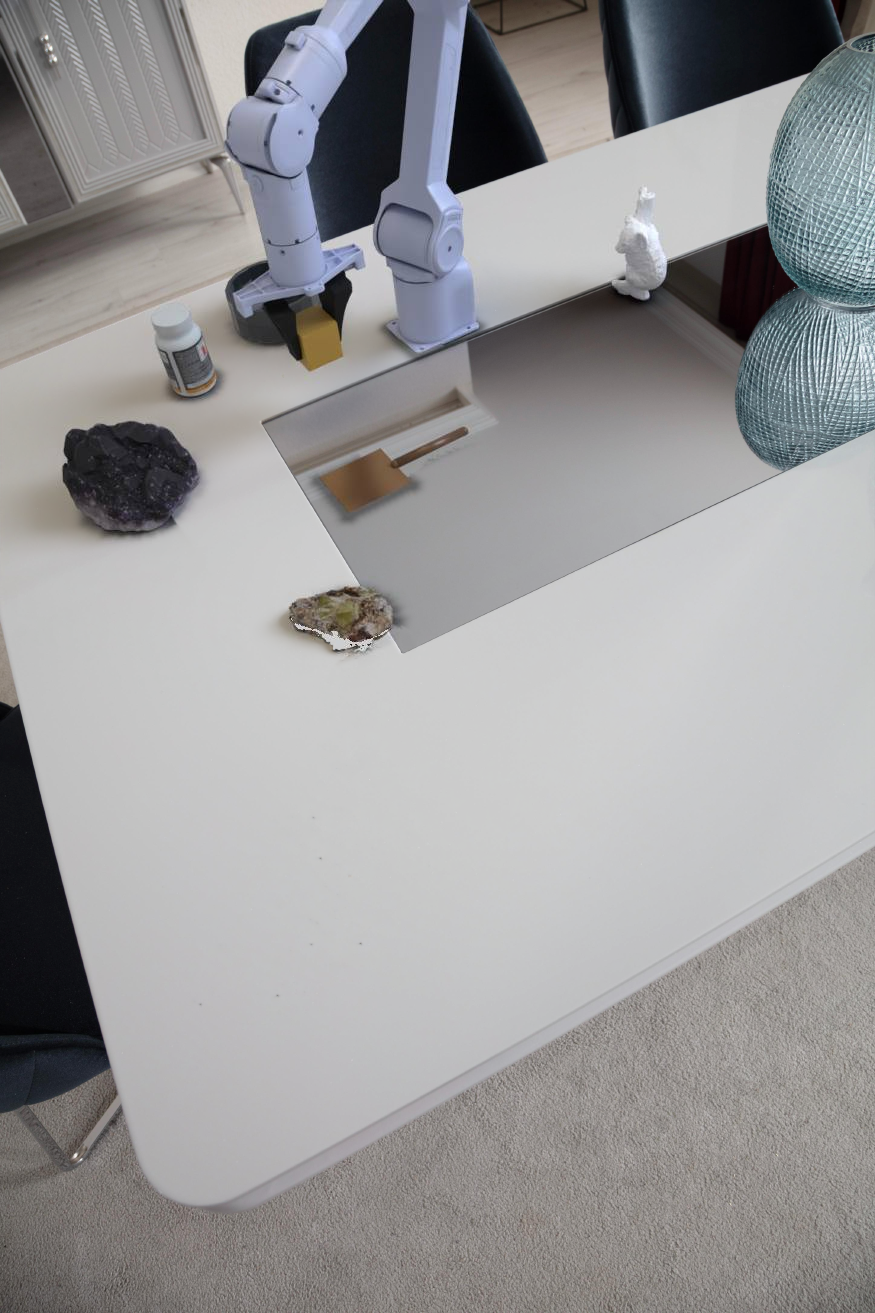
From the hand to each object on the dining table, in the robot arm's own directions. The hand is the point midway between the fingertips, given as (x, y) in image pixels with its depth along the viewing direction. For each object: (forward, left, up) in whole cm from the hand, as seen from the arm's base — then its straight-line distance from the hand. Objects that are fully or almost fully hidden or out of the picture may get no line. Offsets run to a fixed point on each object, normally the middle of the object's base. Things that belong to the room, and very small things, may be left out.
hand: (315, 347), depth 104 cm
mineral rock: (+14, +30, -9) cm, 34 cm away
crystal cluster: (+24, 0, -9) cm, 26 cm away
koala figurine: (-44, +4, -9) cm, 45 cm away
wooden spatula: (-2, +14, -9) cm, 16 cm away
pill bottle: (+11, -15, -9) cm, 21 cm away
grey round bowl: (-4, -21, -9) cm, 24 cm away
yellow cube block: (0, 0, -1) cm, 1 cm away
